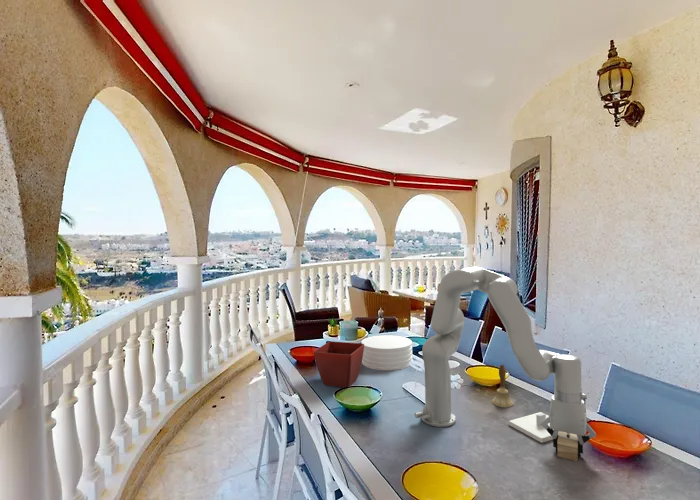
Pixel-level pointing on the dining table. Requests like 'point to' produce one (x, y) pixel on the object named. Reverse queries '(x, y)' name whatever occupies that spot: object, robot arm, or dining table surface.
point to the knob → (567, 446)
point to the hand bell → (502, 391)
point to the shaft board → (532, 426)
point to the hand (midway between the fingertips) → (567, 451)
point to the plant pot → (339, 362)
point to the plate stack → (387, 352)
